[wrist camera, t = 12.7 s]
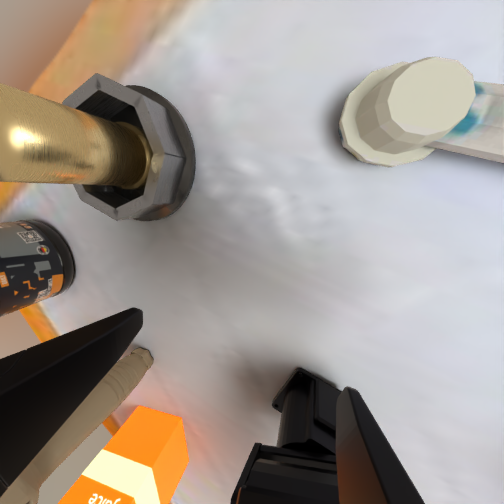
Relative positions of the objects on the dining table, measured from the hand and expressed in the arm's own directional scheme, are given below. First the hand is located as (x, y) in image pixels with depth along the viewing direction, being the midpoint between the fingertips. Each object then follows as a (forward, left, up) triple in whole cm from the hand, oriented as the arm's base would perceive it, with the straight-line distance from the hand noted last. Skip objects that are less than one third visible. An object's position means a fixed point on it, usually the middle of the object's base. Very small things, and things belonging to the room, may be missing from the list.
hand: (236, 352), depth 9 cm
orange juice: (-33, +3, -12) cm, 36 cm away
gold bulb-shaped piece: (+3, +17, -11) cm, 20 cm away
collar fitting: (+3, +17, -12) cm, 21 cm away
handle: (-21, +10, -12) cm, 27 cm away
